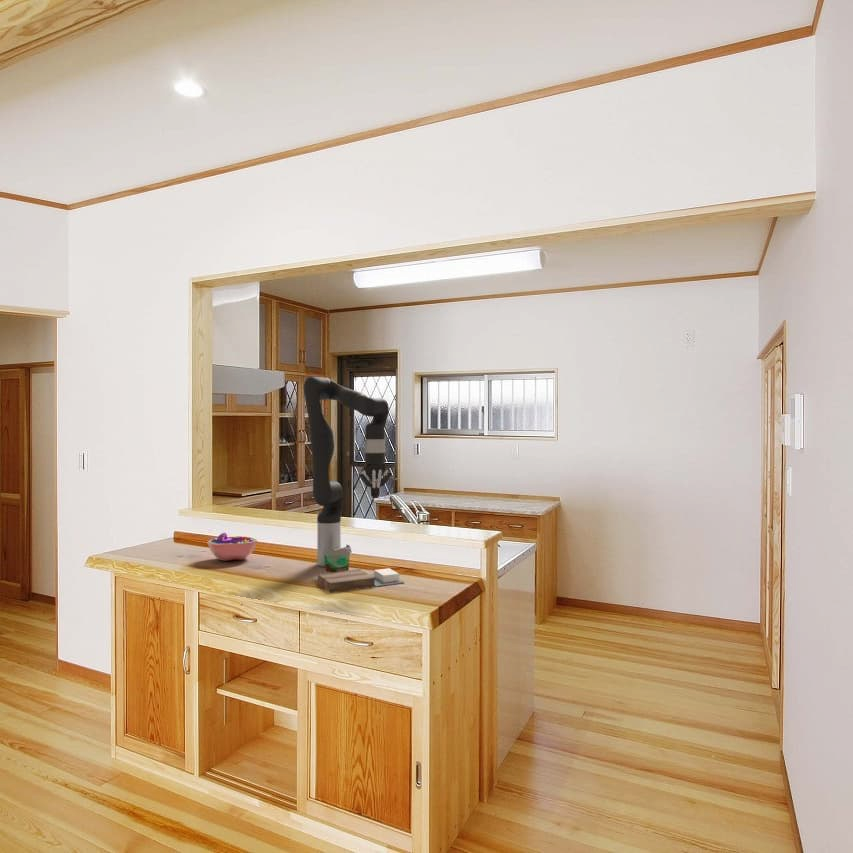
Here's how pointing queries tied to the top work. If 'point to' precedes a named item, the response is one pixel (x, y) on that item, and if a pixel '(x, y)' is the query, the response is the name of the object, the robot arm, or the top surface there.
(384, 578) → the tile
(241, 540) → the cell model
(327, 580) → the brown wooden board
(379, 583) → the mat
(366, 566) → the top surface
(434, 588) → the top surface
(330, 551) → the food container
